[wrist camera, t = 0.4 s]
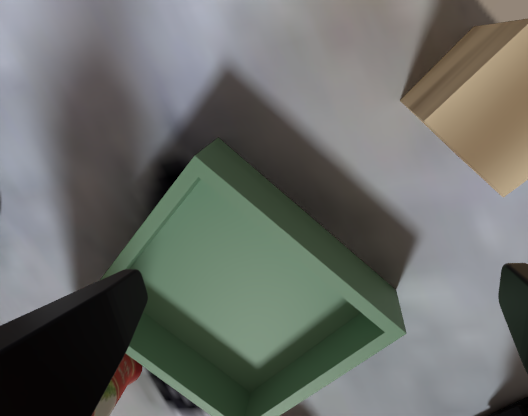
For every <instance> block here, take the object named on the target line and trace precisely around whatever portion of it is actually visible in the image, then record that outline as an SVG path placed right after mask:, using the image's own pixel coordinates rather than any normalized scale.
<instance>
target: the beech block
mask: <svg viewBox="0 0 528 416" xmlns="http://www.w3.org/2000/svg"><path fill="white" fill-rule="evenodd" d="M400 101H401V102H402V103H403V104H404V105H405V106H406V107H407V108H408V109H409V110H410V111H411V112H412V113H413V114H414V115H415V116H417V117H418V118H419V119H420V120H421V121H422V122H423V123H424V124H425V125H426V126H427V127H428V128H429V129H430V130H431V131H432V132H433V133H434V134H435V135H436V136H437V137H439V138H440V139H441V140H442V141H443V142H444V143H445V144H446V145H447V146H448V147H449V148H450V149H451V150H452V151H453V152H454V153H455V154H456V155H457V156H458V157H460V158H461V159H462V160H463V161H464V162H465V163H466V164H467V165H468V166H469V167H470V168H472V169H473V170H474V171H475V172H476V173H477V174H478V175H479V176H480V177H481V178H482V179H484V180H485V181H486V182H487V183H488V184H489V185H490V186H491V187H492V188H493V189H494V190H496V191H497V192H498V193H499V194H500V195H501V196H502V197H505V196H506V195H507V194H509V193H510V192H511V191H513V190H514V189H516V188H517V187H518V186H520V185H521V184H522V183H524V182H525V181H526V180H528V19H523V20H515V21H508V22H502V23H495V24H488V25H481V26H474V27H473V28H472V29H471V30H470V31H469V32H468V33H467V34H466V35H465V36H464V37H463V38H462V39H461V40H460V41H459V42H458V43H457V44H456V45H455V46H454V47H453V48H452V49H451V50H450V51H449V52H448V53H447V54H446V55H445V56H444V57H443V58H442V59H441V60H440V61H439V62H438V63H437V64H436V65H435V66H434V67H433V68H432V69H431V70H430V71H429V72H428V73H427V74H426V75H425V76H424V77H423V78H422V79H421V80H420V81H419V82H418V83H417V84H416V85H415V86H414V87H413V88H412V89H411V90H410V91H409V92H408V93H407V94H406V95H405V96H404V97H403V98H402V99H401V100H400Z"/></svg>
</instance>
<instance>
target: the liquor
mask: <svg viewBox="0 0 528 416" xmlns="http://www.w3.org/2000/svg"><path fill="white" fill-rule="evenodd" d="M141 372H142V365H141V364H139V363H138V362H137V361H135V360H134V359H133V358H131V357H130V356H128V355H127V354H126V353H125V355H124V357H123V359H122V361H121V363H120V365H119V366H118V368H117V370H116V372H115V374H114V376H113V378H112V379H111V381H110V383H109V385H108V387H107V389H106V390H105V392H104V394H103V396H102V398H101V400H100V402H99V403H98V405H97V407H96V409H95V411H94V413H93V414H92V416H109V415H110V414H111V412H112V410H113V409H114V407H115V405H116V404H117V402H118V400H119V398H120V397H121V395H122V393H123V392H124V390H125V388H126V387H127V385H129V384H131V383H133V382H134V381H135V380H137V379H138V377H139V376H140V374H141Z"/></svg>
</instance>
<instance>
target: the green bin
mask: <svg viewBox="0 0 528 416" xmlns="http://www.w3.org/2000/svg"><path fill="white" fill-rule="evenodd" d="M125 269H138V270H139V271H140V272H141V274H142V277H143V280H144V283H145V286H146V290H147V293H148V301H147V304H146V307H145V309H144V312H143V314H142V316H141V319H140V321H139V323H138V326H137V328H136V331H135V333H134V335H133V338H132V340H131V342H130V345H129V347H128V349H127V351H126V354H127V355H128V356H130V357H131V358H133V359H134V360H135V361H137V362H138V363H139V364H141V365H142V366H144V367H145V368H146V369H148V370H149V371H150V372H152V373H153V374H155V375H156V376H157V377H159V378H160V379H161V380H163V381H164V382H166V383H167V384H168V385H170V386H171V387H172V388H174V389H175V390H177V391H178V392H179V393H181V394H182V395H184V396H185V397H186V398H188V399H189V400H190V401H192V402H193V403H195V404H196V405H197V406H199V407H200V408H201V409H203V410H204V411H206V412H207V413H208V414H210V415H211V416H280V415H282V414H283V413H285V412H286V411H288V410H289V409H291V408H292V407H294V406H296V405H297V404H299V403H300V402H302V401H303V400H305V399H306V398H308V397H309V396H311V395H312V394H314V393H316V392H317V391H319V390H320V389H322V388H323V387H325V386H326V385H328V384H329V383H331V382H333V381H334V380H336V379H337V378H339V377H340V376H342V375H343V374H345V373H346V372H348V371H350V370H351V369H353V368H354V367H356V366H357V365H359V364H360V363H362V362H363V361H365V360H366V359H368V358H370V357H371V356H373V355H374V354H376V353H377V352H379V351H380V350H382V349H383V348H385V347H387V346H388V345H390V344H391V343H393V342H394V341H396V340H397V339H399V338H400V337H402V336H404V335H405V334H406V329H405V325H404V321H403V317H402V313H401V308H400V304H399V300H398V296H397V292H396V290H395V289H394V288H393V287H392V286H391V285H390V284H388V283H387V282H386V281H385V280H384V279H383V278H381V277H380V276H379V275H378V274H377V273H376V272H374V271H373V270H372V269H371V268H370V267H369V266H367V265H366V264H365V263H364V262H363V261H362V260H360V259H359V258H358V257H357V256H356V255H355V254H353V253H352V252H351V251H350V250H349V249H348V248H346V247H345V246H344V245H343V244H342V243H341V242H339V241H338V240H337V239H336V238H335V237H334V236H332V235H331V234H330V233H329V232H328V231H327V230H325V229H324V228H323V227H322V226H321V225H320V224H318V223H317V222H316V221H315V220H314V219H313V218H311V217H310V216H309V215H308V214H307V213H306V212H304V211H303V210H302V209H301V208H300V207H299V206H297V205H296V204H295V203H294V202H293V201H292V200H290V199H289V198H288V197H287V196H286V195H285V194H283V193H282V192H281V191H280V190H279V189H278V188H276V187H275V186H274V185H273V184H272V183H271V182H269V181H268V180H267V179H266V178H265V177H264V176H262V175H261V174H260V173H259V172H258V171H257V170H255V169H254V168H253V167H252V166H251V165H250V164H248V163H247V162H246V161H245V160H244V159H243V158H241V157H240V156H239V155H238V154H237V153H236V152H234V151H233V150H232V149H231V148H230V147H229V146H227V145H226V144H225V143H224V142H223V141H222V140H220V139H219V138H217V139H216V140H214V141H213V142H212V143H210V144H209V145H208V146H207V147H205V148H204V149H203V150H201V151H200V152H199V153H197V154H196V155H195V156H194V157H193V158H192V160H191V161H190V162H189V164H188V165H187V166H186V168H185V169H184V170H183V171H182V173H181V174H180V175H179V177H178V178H177V179H176V181H175V182H174V183H173V185H172V186H171V187H170V189H169V190H168V191H167V193H166V194H165V195H164V197H163V198H162V199H161V200H160V202H159V203H158V204H157V206H156V207H155V208H154V210H153V211H152V212H151V214H150V215H149V216H148V218H147V219H146V220H145V222H144V223H143V224H142V225H141V227H140V228H139V229H138V231H137V232H136V233H135V235H134V236H133V237H132V239H131V240H130V241H129V243H128V244H127V245H126V247H125V248H124V249H123V250H122V252H121V253H120V254H119V256H118V257H117V258H116V260H115V261H114V262H113V264H112V265H111V266H110V268H109V269H108V270H107V272H106V273H105V274H104V276H103V277H102V278H101V279H100V280H102V279H104V278H106V277H109V276H111V275H113V274H115V273H117V272H120V271H122V270H125Z"/></svg>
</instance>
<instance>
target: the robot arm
mask: <svg viewBox="0 0 528 416" xmlns="http://www.w3.org/2000/svg"><path fill="white" fill-rule="evenodd" d="M147 301H148V293H147V290H146V286H145V283H144V280H143V277H142V274H141V272H140V271H139V270H138V269H125V270H122V271H120V272H117V273H115V274H113V275H111V276H109V277H106V278H104V279H102V280H100V281H98V282H95V283H93V284H91V285H89V286H87V287H84V288H82V289H80V290H78V291H76V292H73V293H71V294H69V295H67V296H65V297H63V298H60V299H58V300H56V301H54V302H52V303H49V304H47V305H45V306H43V307H41V308H38V309H36V310H34V311H32V312H30V313H27V314H25V315H23V316H21V317H19V318H16V319H14V320H12V321H10V322H8V323H5V324H3V325H1V326H0V416H92V414H93V413H94V411H95V409H96V407H97V405H98V403H99V402H100V400H101V398H102V396H103V394H104V392H105V390H106V389H107V387H108V385H109V383H110V381H111V379H112V378H113V376H114V374H115V372H116V370H117V368H118V366H119V365H120V363H121V361H122V359H123V357H124V355H125V353H126V351H127V349H128V347H129V345H130V342H131V340H132V338H133V335H134V333H135V331H136V328H137V326H138V323H139V321H140V319H141V316H142V314H143V312H144V309H145V307H146V304H147ZM499 303H500V307H501V309H502V312H503V315H504V317H505V320H506V322H507V325H508V327H509V330H510V333H511V335H512V338H513V340H514V343H515V346H516V348H517V351H518V353H519V356H520V358H521V361H522V363H523V366H524V368H525V370H526V372H527V374H528V264H526V263H507V264H505V265H503V267H502V271H501V278H500V287H499ZM489 416H528V397H527V398H525V399H523V400H521V401H519V402H517V403H514V404H512V405H510V406H508V407H506V408H504V409H502V410H500V411H497V412H495V413H493V414H491V415H489Z"/></svg>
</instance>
